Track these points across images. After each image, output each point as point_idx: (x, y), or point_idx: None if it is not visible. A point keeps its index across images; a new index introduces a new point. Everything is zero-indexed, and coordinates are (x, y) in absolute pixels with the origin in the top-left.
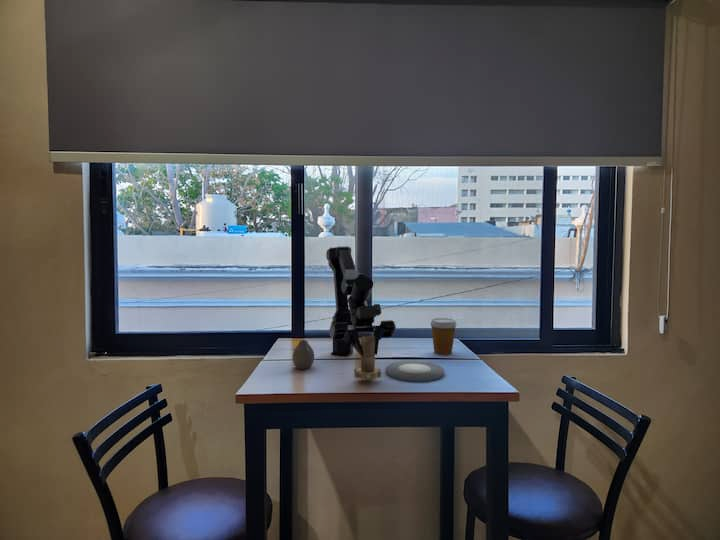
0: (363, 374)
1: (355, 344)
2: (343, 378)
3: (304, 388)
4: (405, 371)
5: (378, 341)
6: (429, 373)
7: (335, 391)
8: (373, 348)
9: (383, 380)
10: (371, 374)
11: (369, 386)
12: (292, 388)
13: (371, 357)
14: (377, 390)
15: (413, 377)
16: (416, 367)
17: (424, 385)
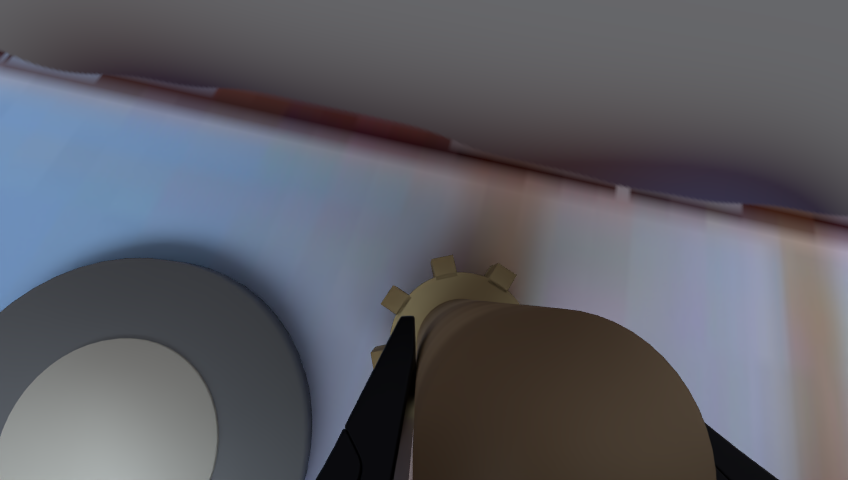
0: (505, 268)
1: None
2: None
3: (781, 291)
4: (200, 387)
5: (341, 438)
6: (76, 324)
7: (635, 216)
8: (446, 321)
9: (367, 328)
10: (454, 267)
11: (464, 249)
12: (840, 304)
13: (460, 303)
14: (440, 186)
15: (205, 271)
16: (86, 464)
17: (194, 204)
